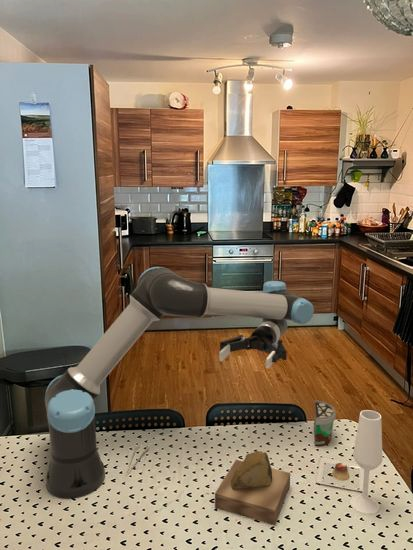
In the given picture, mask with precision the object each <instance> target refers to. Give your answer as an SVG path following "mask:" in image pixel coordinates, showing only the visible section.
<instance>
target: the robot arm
mask: <svg viewBox="0 0 413 550" xmlns="http://www.w3.org/2000/svg"><path fill="white" fill-rule="evenodd" d="M136 285H137V286H136V288H134V290H133V291H132V292H131V293H130V294H129V304H128V305H127V306H126V307H125V309H123V311H122V312H121V313H120V315H119V316H118V317H117V318H116V319H115V321H114V322H113V323H112V324H111V325H110V327H108V329H107V330H106V331H105V332H104V333H103V334H102V336H101V337H100V338H99V340H98V341H97V342H96V343H95V344H94V346H93V347H92V348H91V349H90V350H89V352H88V353H87V354H86V355H85V356H84V357H83V359H82V360H81V361H80V362H79V364H78V365H77V366H73V367H69V368H68V369H67V370H66V371H65V372H64V373H63V374H61V375H58V376H56V377H55V378H54V379H53V380H51V381H50V383H49V384H48V386H47V387H46V390H45V395H44V403H45V405H44V407H45V409H46V417H47V423H48V432H49V444H50V454H51V458H50V461H49V465H48V469H47V473H46V478H45V479H46V488H47V490H48V492H49V493H50V494H51V495H53V496H54V497H57V498H61V499H74V498H79V497H84V496H87V495H89V494H91V493H93V492H94V491H96V490H97V489H99V487H101V485H102V484H103V483H104V481H105V478H106V468H105V464H104V462H103V461H102V458H101V456H100V454H99V451H98V448H97V447H98V446H97V433H96V432H97V431H96V417H95V416H96V415H95V414H96V406H95V403H94V401H95V400H96V399H97V398H98V396H99V395H100V393H101V388H100V387H101V384H102V383H103V382H104V380H106V378H107V377H108V375H110V374H111V372H112V371H113V370H114V369H115V367H116V366H117V365H118V364H119V362H120V361H121V360H122V359H123V357H124V356H125V355H127V353H128V351H129V350H130V349H131V348H132V346H134V344H135V343H136V342H137V341H138V339H139V338H140V337H141V336H142V335H143V333H144V332H145V331H146V330H147V328H149V327H150V325H151V324H152V322H156V321H160V320H162V318H163V317H164V316H165V315H166V316H171V317H172V316H173V317H187V318H203V317H204V316H206V315H213V316H227V317H241V318H243V317H244V318H256V319H257V318H258V319H262V323H260V325H259V326H257V328H255V330H253V331H252V333H251V335H250V336H248V337H246V338H245V337H244V335H242V334H240V335H238V336H236V337H233V338H229V339H226V340H223V341H220V342H219V352H218V353H219V359H218V360H219V362H223V361H224V360H225V359H226V358H227V357H229V355H231V353H233V352H236V351H240V350H245V351H250V350H254V351H255V350H257V351H259V352H263V353H266V354H269V355H268V356H267V357H266V358H265V369H270V367H271V366H272V365H273V364H274V363H277V362H278V361H279V360H280V359H282V360H283V361H286V360H288V359H287V357H288V352H287V349H286V347H285V346H284V344H283V340H281V339H280V338H281V337H282V336H284V335H285V333H286V331H287V328H288V324H289V323H288V321H291V322H294V323H295V324H299V325H305V324H307V323H309V322H310V321H311V320H312V318H313V317H314V312H315V309H314V305H313V304H312V303H311V302H310V301H309V300H307V299H305V298H304V297H301V296H298V295H295V294H292V293H290V292H288V291H287V284H286V282H283V281H279V280H269V281H266V282H264V284H263V288H262V292H257V291H256V292H255V291H246V290H238V289H227V288H220V287H219V288H215V287H208V285H207V284H206V283H203V282H196V281H192V280H189V279H186V278H184V277H182V276H180V275H178V274H177V273H175V272H174V271H172V270H171V269H169V268H166V267H162V266H154V267H150V268H148V269H146V270H144V271H143V272H142V273H141V275H140V276H139V278H138V279H137V284H136Z"/></svg>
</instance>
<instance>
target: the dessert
mask: <svg viewBox="0 0 413 550" xmlns="http://www.w3.org/2000/svg"><path fill="white" fill-rule="evenodd" d="M318 461H319V462H318V469H317V474H316V475H317V476H316V481H315V482H316V484H321V485H326V486H332V487H334V488H335V487H337V488H341V489H348V490H352V491H357V492H362V493H363V481H364V469H363V468H361V467H360V466H359V465H358V464H357V462H351V461H344V460H338V459H334V458H333V459H332V458H327V457H321V456H320V457H319V460H318ZM325 464H332V465H335V466H334V468H333V471H332V473H331V475H332V477H333V478H334V479H335V480H338V481H341V482H343V481H348V480H349V479H350V477H351V476H350V472H349V468H348V467H350V468H356V469H358V471H359V472H358V474H359V476H358V478H359V479H358V488H352V487H347V486H342V485H336V484H331V483H326V482H323V477H324V476H323V475H324V470H325V469H324V468H325Z"/></svg>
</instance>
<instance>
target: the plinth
mask: <svg viewBox="0 0 413 550" xmlns="http://www.w3.org/2000/svg"><path fill="white" fill-rule="evenodd" d="M243 461H244V460H243ZM243 461H242V460H239V459H235V460H234V462H233V464H232V466H231V467H230V469H229V470H228V472H227V473H226V475H225V477H224V478H223V480H222V481H221V483H220V484H219V486H218V488H216V489H217V490H216V491H215V493H214V508H215V509H218V510H222V511H225V512H227V513H231V514H235V515H239V516H242V517H244V518H249V519H252V520H255V521H259V522H262V523H266V524H268V525H273V526H276V524H277V521H278V518H279V515H280V512H281V511H282V508H283V505H284V503H285V500H286V498H287V495H288V492H289V490H290V488H291V472H288V471H285V470H284V471H283V470H281V469H276V468H272V467H271V469H272V482H271V484H270V485H269V486H261V487H248V488H238V489H232V486H231V479H232V477H233V475H234V473H235V471H236V469H238V468H239V467H240V465H241V463H242V462H243Z"/></svg>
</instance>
